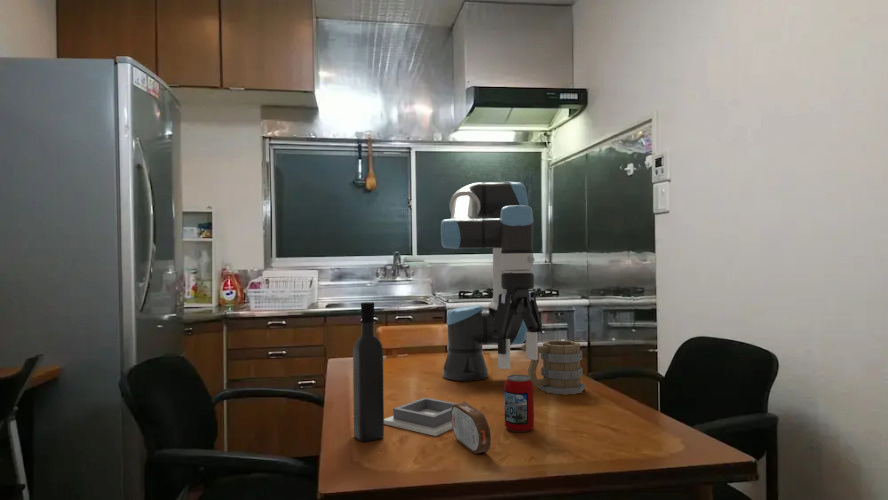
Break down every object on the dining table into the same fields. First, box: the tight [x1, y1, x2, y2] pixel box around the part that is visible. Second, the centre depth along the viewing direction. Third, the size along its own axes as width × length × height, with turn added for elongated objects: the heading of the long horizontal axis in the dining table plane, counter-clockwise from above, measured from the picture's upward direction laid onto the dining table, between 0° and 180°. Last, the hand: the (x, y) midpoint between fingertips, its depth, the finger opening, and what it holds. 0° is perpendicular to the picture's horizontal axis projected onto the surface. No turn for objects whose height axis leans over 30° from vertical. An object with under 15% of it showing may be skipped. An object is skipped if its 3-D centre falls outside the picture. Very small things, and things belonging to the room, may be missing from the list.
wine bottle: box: [352, 301, 385, 443], centre depth 120 cm, size 6×6×30 cm
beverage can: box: [503, 374, 535, 433], centre depth 124 cm, size 7×7×12 cm
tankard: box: [520, 340, 586, 396], centre depth 159 cm, size 20×13×15 cm, turn 108°
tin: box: [451, 401, 492, 455], centre depth 113 cm, size 15×3×8 cm, turn 22°
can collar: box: [384, 397, 458, 437], centre depth 131 cm, size 16×16×4 cm
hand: (518, 363), depth 124 cm, fingers open, 13 cm apart
